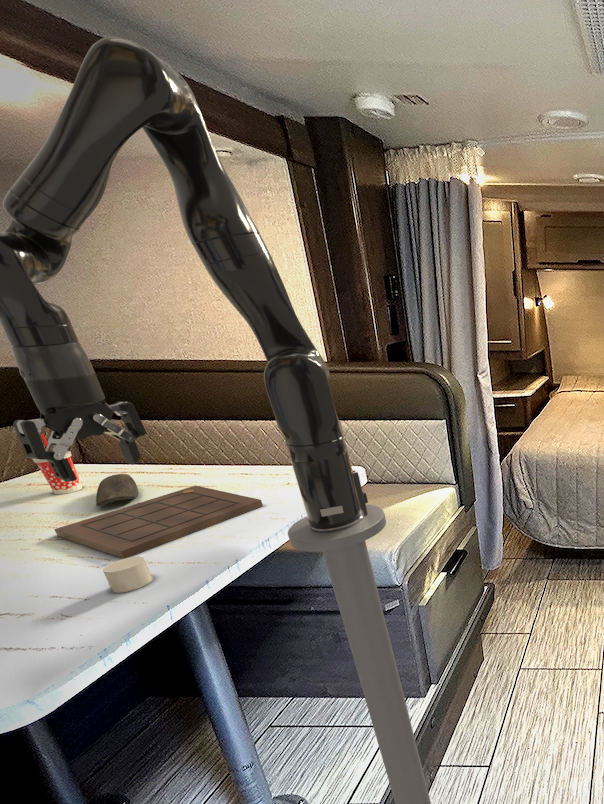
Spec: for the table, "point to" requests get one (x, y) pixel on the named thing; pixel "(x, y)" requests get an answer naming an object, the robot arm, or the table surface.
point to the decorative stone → (116, 489)
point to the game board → (157, 520)
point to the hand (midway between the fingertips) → (103, 471)
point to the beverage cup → (55, 483)
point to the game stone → (127, 574)
